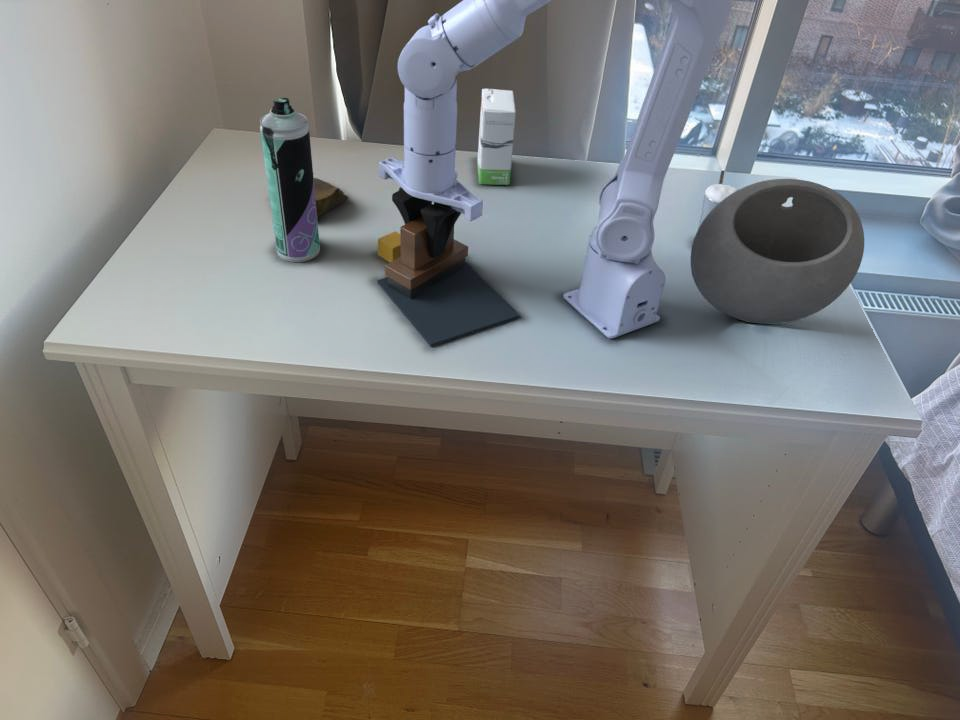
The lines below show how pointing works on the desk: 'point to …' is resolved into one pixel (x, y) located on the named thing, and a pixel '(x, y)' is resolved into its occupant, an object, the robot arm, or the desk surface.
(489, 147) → the ink box
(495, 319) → the mat
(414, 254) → the brush
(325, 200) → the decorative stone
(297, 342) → the desk surface
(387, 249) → the mustard wooden cube
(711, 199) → the milkshake
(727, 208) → the planter
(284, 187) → the spray can
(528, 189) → the desk surface
